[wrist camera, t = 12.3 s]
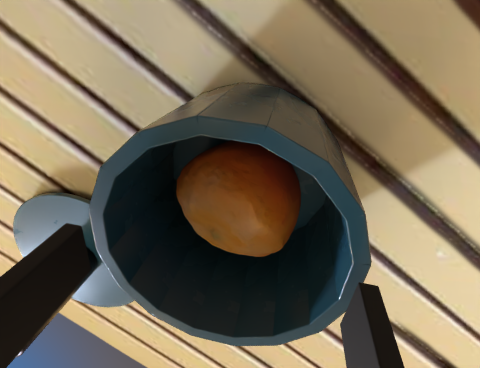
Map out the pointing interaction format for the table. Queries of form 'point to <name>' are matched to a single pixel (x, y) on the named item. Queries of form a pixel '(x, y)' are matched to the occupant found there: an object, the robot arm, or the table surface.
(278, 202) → the fruit
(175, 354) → the table surface
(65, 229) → the robot arm
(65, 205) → the lid
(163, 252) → the pot
